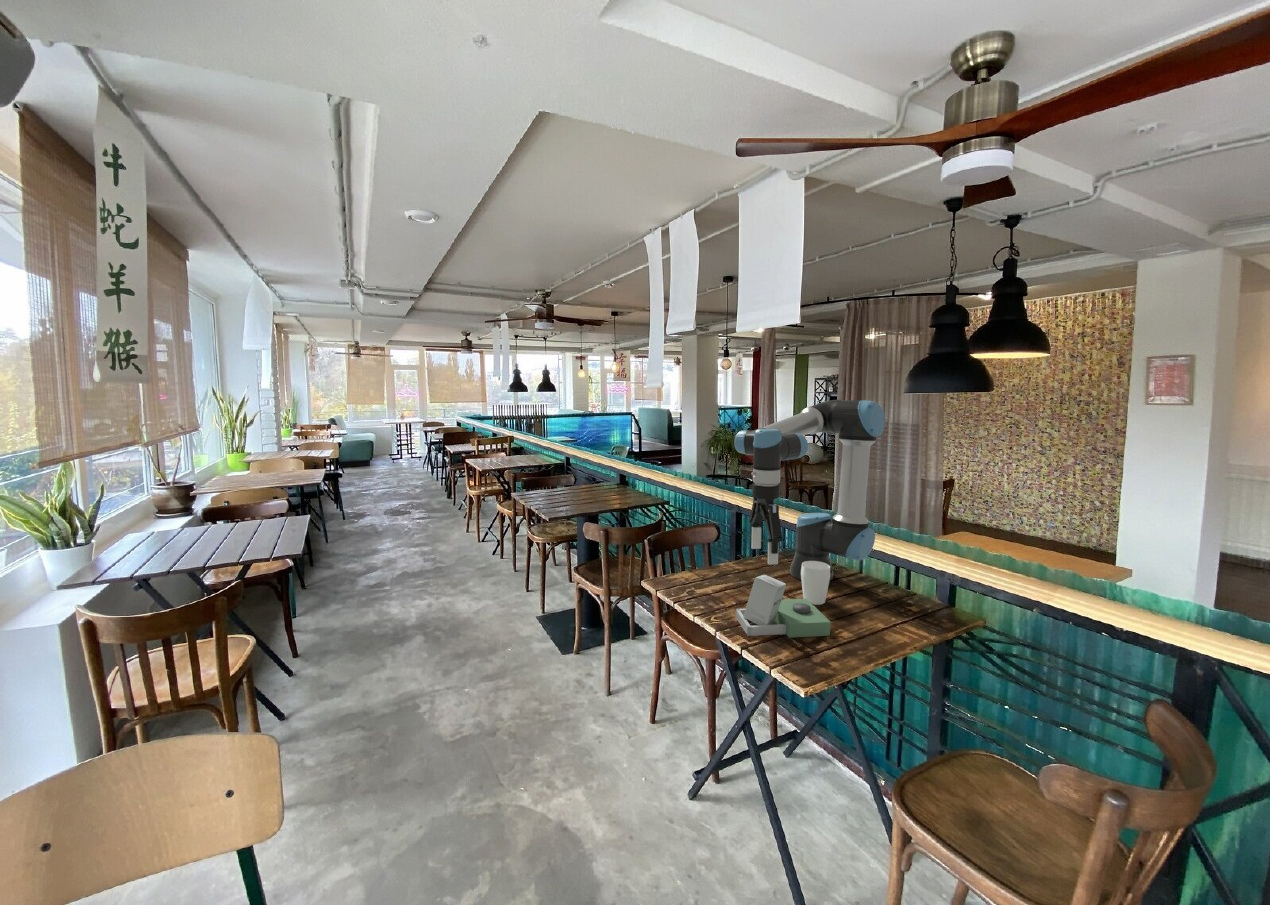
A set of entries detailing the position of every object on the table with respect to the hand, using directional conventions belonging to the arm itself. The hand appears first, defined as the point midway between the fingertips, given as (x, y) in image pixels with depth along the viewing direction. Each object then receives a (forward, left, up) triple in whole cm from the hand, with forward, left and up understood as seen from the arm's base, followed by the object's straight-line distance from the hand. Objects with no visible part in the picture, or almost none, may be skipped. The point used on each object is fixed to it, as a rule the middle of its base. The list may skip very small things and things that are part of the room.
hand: (764, 555), depth 147 cm
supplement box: (+1, +1, -20) cm, 20 cm away
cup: (-23, -14, -21) cm, 34 cm away
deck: (-5, +1, -21) cm, 21 cm away
